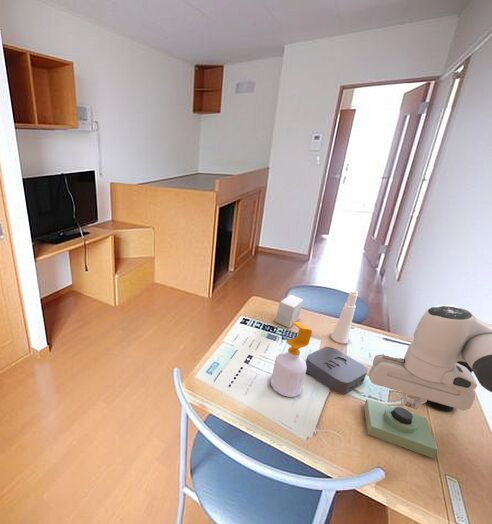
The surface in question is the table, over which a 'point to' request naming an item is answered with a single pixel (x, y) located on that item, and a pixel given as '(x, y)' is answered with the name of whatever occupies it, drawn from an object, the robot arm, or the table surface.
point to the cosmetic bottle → (345, 319)
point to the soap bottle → (291, 365)
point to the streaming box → (335, 370)
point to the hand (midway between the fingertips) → (408, 405)
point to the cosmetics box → (289, 310)
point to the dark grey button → (402, 415)
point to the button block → (399, 429)
